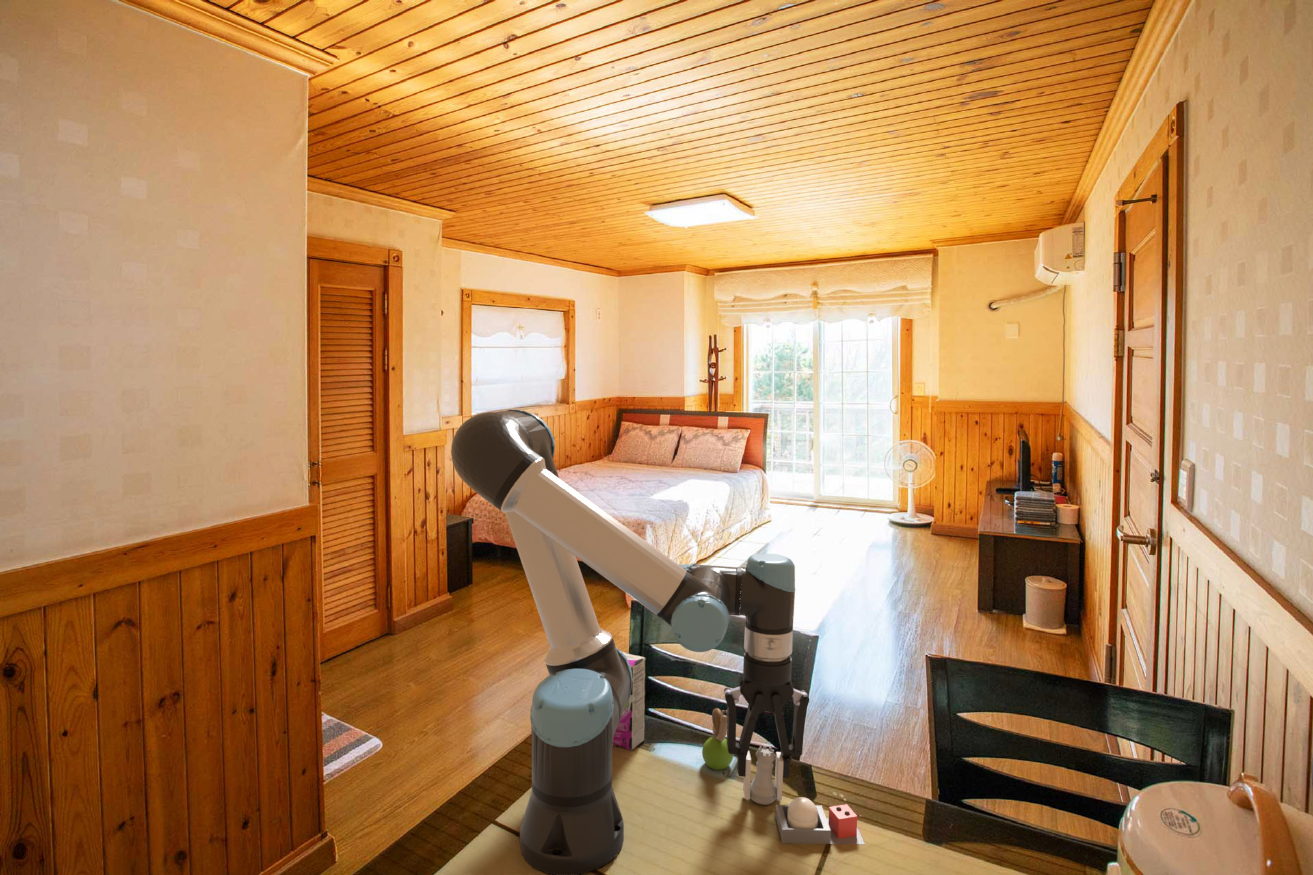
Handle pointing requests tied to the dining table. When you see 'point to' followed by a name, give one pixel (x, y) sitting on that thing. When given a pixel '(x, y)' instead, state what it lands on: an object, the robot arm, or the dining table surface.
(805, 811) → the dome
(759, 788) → the rook chess piece
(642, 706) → the candy bar box
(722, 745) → the snail figurine
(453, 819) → the dining table surface
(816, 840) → the grey compartment tray
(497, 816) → the dining table surface
